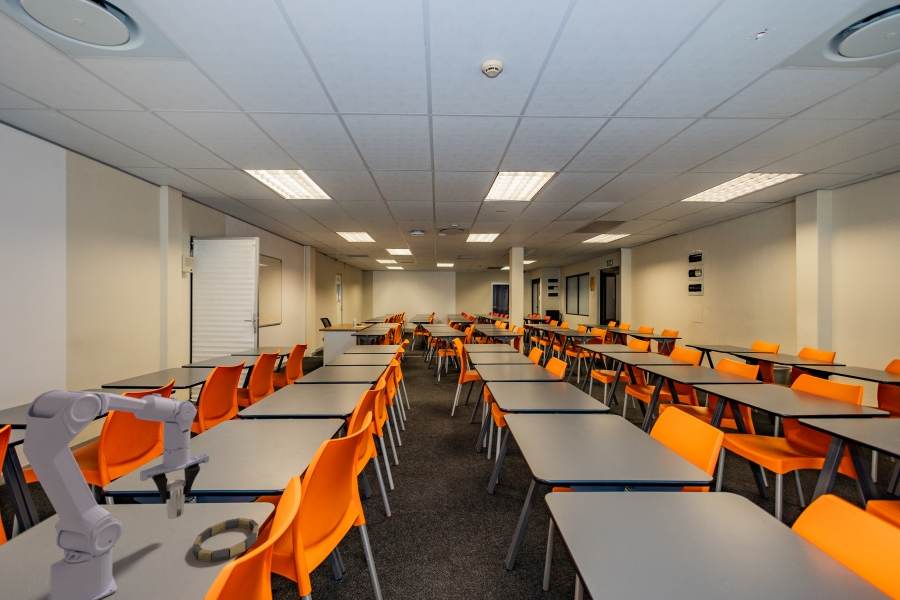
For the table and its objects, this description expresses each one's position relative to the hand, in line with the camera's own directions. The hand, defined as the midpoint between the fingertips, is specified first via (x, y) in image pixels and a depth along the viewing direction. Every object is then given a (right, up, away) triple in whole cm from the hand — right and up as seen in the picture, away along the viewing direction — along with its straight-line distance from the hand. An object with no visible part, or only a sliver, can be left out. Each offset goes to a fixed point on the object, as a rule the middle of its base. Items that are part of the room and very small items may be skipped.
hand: (175, 497), depth 95 cm
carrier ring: (+15, -10, -2) cm, 18 cm away
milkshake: (0, -5, 0) cm, 5 cm away
